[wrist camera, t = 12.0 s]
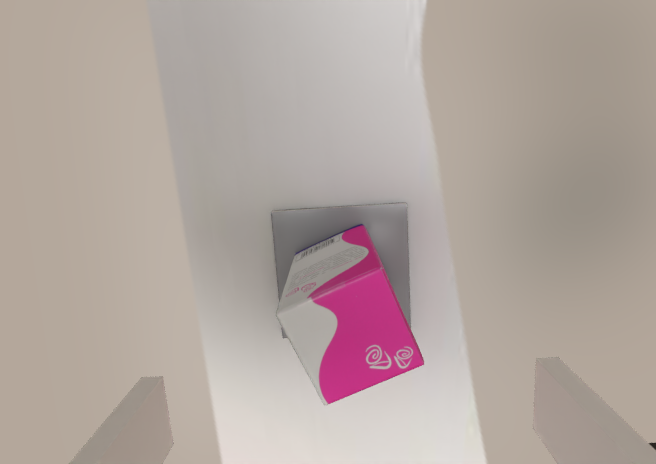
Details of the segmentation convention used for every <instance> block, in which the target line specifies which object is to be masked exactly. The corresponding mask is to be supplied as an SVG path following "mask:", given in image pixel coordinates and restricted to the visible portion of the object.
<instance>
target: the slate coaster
mask: <svg viewBox="0 0 656 464" xmlns="http://www.w3.org/2000/svg"><path fill="white" fill-rule="evenodd" d="M271 216H272V227H273V238H274V249H275V260H276V271H277V282H278V292H279V302H280V299H281V296H282V293H283V290H284V287H285V284H286V281H287V278H288V275H289V271H290V268H291V265H292V262H293V259H294V256H295V253H297V252H299V251H301V250H303V249H305V248H307V247H310V246H312V245H314V244H316V243H318V242H320V241H323V240H325V239H327V238H329V237H331V236H334V235H336V234H338V233H341V232H343V231H345V230H347V229H350V228H352V227H354V226H357V225H360V224H363V225H364V226H365V227H366V230H367V232H368V234H369V236H370V238H371V240H372V242H373V245H374V247H375V249H376V251H377V253H378V255H379V258H380V260H381V262H382V264H383V267H384V269H385V271H386V273H387V276H388V278H389V280H390V283H391V285H392V287H393V289H394V292H395V294H396V296H397V299H398V301H399V303H400V306H401V308H402V310H403V313H404V315H405V317H406V319H407V322H408V324H409V326H410V329H411V321H410V288H409V254H408V221H407V203H389V204H373V205H357V206H341V207H325V208H309V209H293V210H277V211H272V212H271ZM282 336H283V338H288V337H287V335H286V333H285V332H284V330H283V328H282Z"/></svg>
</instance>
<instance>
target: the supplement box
mask: <svg viewBox="0 0 656 464" xmlns="http://www.w3.org/2000/svg"><path fill="white" fill-rule="evenodd" d="M276 317H277V318H278V320H279V322H280V324H281V326H282V328H283V330H284V332H285V333H286V335H287V337H288V339H289V341H290V343H291V344H292V346H293V348H294V350H295V352H296V354H297V355H298V357H299V359H300V361H301V363H302V365H303V367H304V368H305V370H306V372H307V374H308V376H309V377H310V379H311V381H312V383H313V385H314V387H315V389H316V391H317V393H318V395H319V397H320V398H321V400H322V403H323V404H324V405H328V404H330V403H332V402H335V401H338V400H340V399H342V398H345V397H347V396H349V395H352V394H354V393H357V392H359V391H361V390H364V389H366V388H369V387H371V386H373V385H376V384H378V383H380V382H383V381H385V380H388V379H390V378H393V377H395V376H397V375H400V374H402V373H405V372H407V371H410V370H412V369H414V368H417V367H419V366H422V365H424V360H423V357H422V354H421V352H420V350H419V347H418V345H417V343H416V340H415V338H414V336H413V334H412V331H411V329H410V326H409V324H408V322H407V319H406V317H405V315H404V313H403V310H402V308H401V306H400V303H399V301H398V299H397V296H396V294H395V292H394V289H393V287H392V285H391V283H390V280H389V278H388V276H387V273H386V271H385V269H384V267H383V264H382V262H381V260H380V258H379V255H378V253H377V251H376V249H375V247H374V245H373V242H372V240H371V238H370V236H369V234H368V232H367V230H366V227H365V226H364V225H363V224H360V225H357V226H354V227H352V228H350V229H347V230H345V231H343V232H341V233H338V234H336V235H334V236H331V237H329V238H327V239H325V240H323V241H320V242H318V243H316V244H314V245H312V246H310V247H307V248H305V249H303V250H301V251H299V252H297V253H295V256H294V259H293V262H292V265H291V268H290V271H289V275H288V278H287V281H286V284H285V287H284V290H283V293H282V296H281V299H280V302H279V305H278V309H277V312H276Z"/></svg>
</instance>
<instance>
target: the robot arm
mask: <svg viewBox="0 0 656 464" xmlns="http://www.w3.org/2000/svg"><path fill="white" fill-rule="evenodd" d="M534 396H535V397H534V420H533V421H534V422H533V429H534V430H535V432H536V433H537V435H538V436H539V438H540V439H541V440H542V442H543V443H544V445H545V446H546V448H547V449H548V451H549V452H550V453H551V455H552V456H553V458H554V459H555V461H556V462H557V464H656V443H647V441H645V440H644V439H643V438H642V437H641V436H640V435H639V434H638V433H637V432H636V431H635V430H634V429H633V428H632V427H631V426H630V425H629V424H628V423H627V422H626V421H624V419H623V418H622V417H620V416H619V415H618V414H617V413H616V412H615V411H614V410H613V409H612V408H611V407H610V406H609V405H608V404H607V403H606V402H605V401H604V400H603V399H602V398H601V397H600V396H599V395H597V394H596V393H595V392H594V391H593V390H592V389H591V388H590V387H589V386H588V385H587V384H586V383H585V382H584V381H583V380H582V379H581V378H579V376H578V375H577V374H576V373H574V372H573V371H572V370H571V369H570V368H569V367H568V366H567V365H566V364H565V363H564V362H563V361H562V360H561V359H560V358H559V357H551V358H536V370H535V395H534ZM173 444H174V443H173V437H172V431H171V425H170V418H169V412H168V406H167V400H166V395H165V387H164V381H163V377H162V376H159V377H142V378H141V379H140V380H139V381H138V382H137V383H136V385H135V386H134V387H133V388H132V390H131V391H130V392H129V393H128V394H127V395H126V396H125V398H124V399H123V400H122V401H121V402H120V404H119V405H118V406H117V407H116V408H115V409H114V411H113V412H112V413H111V414H110V416H109V417H108V418H107V419H106V420H105V421H104V423H103V424H102V425H101V426H100V427H99V428H98V430H97V431H96V432H95V433H94V435H93V436H92V437H91V438H90V439H89V440H88V442H87V443H86V444H85V445H84V446H83V448H82V449H81V450H80V451H79V452H78V453H77V454H76V456H75V457H74V458H73V459H72V460H71V462H70V463H69V464H163V462H164V460H165V459H166V457H167V455H168V453H169V451H170V449H171V448H172V446H173Z"/></svg>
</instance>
